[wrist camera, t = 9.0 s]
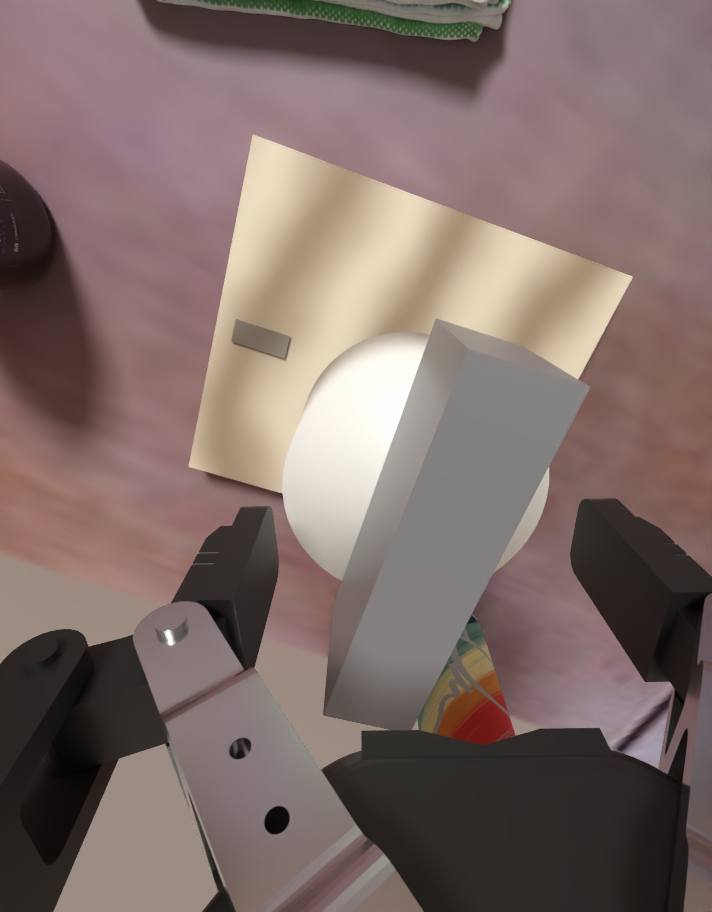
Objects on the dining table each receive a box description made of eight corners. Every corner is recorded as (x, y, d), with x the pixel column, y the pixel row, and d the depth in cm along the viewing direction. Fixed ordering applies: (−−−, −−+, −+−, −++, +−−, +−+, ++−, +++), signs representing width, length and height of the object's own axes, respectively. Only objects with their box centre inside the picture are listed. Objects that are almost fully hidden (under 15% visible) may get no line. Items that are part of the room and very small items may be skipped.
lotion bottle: (482, 600, 35) (612, 982, 17) (478, 655, 37) (589, 1044, 19) (406, 602, 35) (454, 983, 17) (408, 657, 37) (451, 1044, 19)
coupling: (339, 274, 16) (316, 300, 8) (549, 342, 17) (723, 428, 9) (277, 511, 20) (217, 692, 12) (449, 556, 21) (505, 754, 13)
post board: (613, 274, 26) (753, 288, 16) (479, 534, 33) (524, 645, 23) (261, 143, 23) (196, 74, 14) (199, 453, 30) (128, 541, 21)
